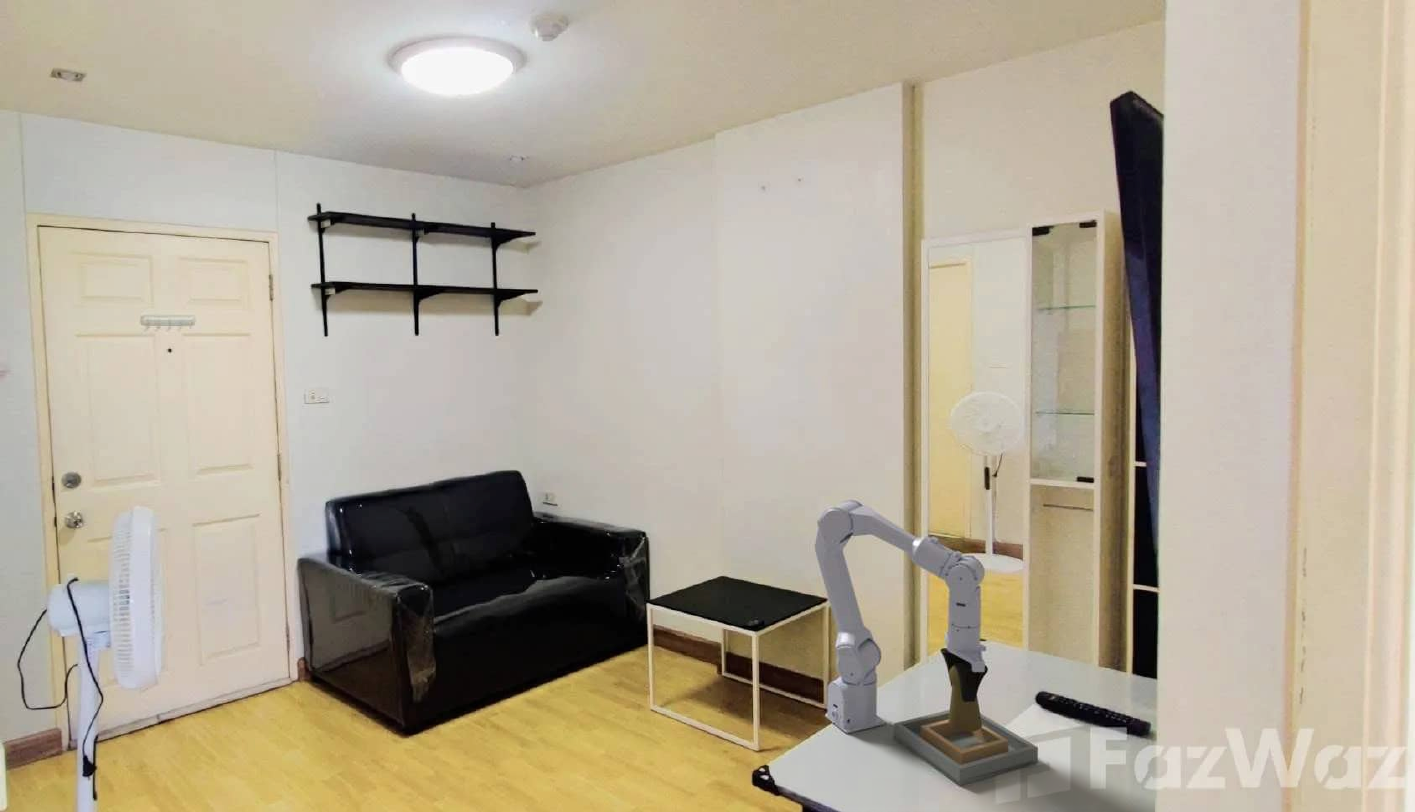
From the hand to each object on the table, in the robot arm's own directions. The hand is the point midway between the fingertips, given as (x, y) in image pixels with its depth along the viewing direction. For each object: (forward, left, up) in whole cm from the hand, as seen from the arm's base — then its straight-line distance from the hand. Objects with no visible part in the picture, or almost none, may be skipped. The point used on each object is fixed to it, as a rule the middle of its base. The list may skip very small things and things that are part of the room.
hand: (962, 694), depth 146 cm
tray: (0, -1, -10) cm, 10 cm away
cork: (+1, 0, -6) cm, 6 cm away
